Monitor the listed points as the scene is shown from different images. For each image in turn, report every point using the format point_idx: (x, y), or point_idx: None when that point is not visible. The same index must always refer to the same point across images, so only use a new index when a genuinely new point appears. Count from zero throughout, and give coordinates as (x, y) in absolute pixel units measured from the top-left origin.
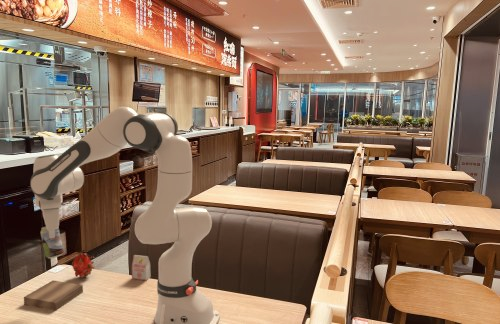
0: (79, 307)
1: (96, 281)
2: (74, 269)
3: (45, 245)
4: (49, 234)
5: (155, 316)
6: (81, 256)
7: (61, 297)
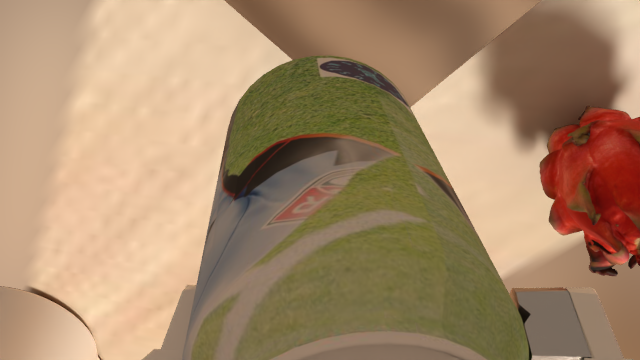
0: (205, 77)
1: (477, 182)
2: (582, 130)
3: (246, 149)
4: (166, 340)
5: (7, 301)
6: (622, 226)
7: (259, 13)
